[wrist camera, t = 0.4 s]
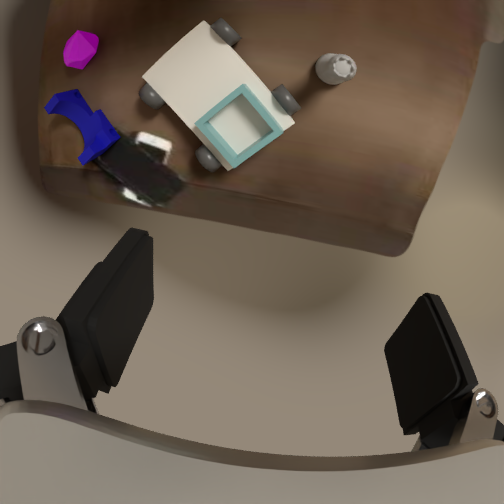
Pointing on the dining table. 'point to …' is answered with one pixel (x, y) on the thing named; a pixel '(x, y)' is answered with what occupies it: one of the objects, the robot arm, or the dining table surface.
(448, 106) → the dining table surface
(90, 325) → the robot arm
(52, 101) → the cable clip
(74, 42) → the crystal
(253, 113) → the chassis
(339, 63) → the rook chess piece
